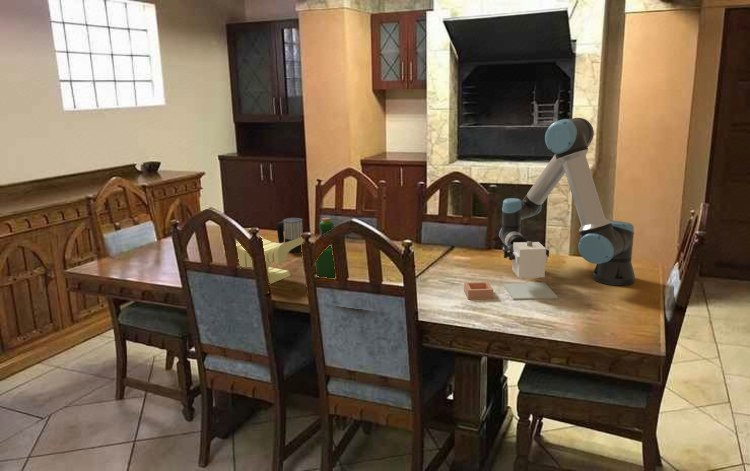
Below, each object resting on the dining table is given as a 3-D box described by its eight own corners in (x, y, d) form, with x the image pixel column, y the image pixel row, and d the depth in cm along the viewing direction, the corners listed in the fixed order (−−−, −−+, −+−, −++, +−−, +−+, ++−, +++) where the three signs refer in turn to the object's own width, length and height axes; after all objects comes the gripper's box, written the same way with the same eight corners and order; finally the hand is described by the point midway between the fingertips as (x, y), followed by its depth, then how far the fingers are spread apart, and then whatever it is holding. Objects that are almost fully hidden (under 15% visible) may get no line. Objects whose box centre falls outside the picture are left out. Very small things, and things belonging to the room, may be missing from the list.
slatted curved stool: (225, 278, 248) (221, 236, 244) (253, 267, 261) (249, 228, 256) (279, 290, 232) (276, 245, 227) (306, 278, 245) (304, 236, 240)
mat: (544, 283, 231) (544, 282, 231) (557, 298, 215) (557, 296, 215) (502, 285, 231) (502, 283, 230) (513, 299, 215) (513, 298, 215)
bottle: (348, 287, 233) (345, 216, 226) (335, 295, 224) (331, 222, 217) (324, 283, 238) (320, 214, 231) (310, 292, 228) (306, 220, 221)
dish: (487, 290, 225) (488, 281, 224) (493, 298, 217) (493, 289, 216) (463, 291, 225) (464, 282, 224) (468, 299, 216) (468, 290, 216)
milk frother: (307, 247, 291) (305, 217, 287) (295, 256, 276) (293, 225, 272) (279, 246, 294) (277, 217, 290) (266, 255, 279) (264, 224, 276)
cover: (537, 271, 227) (538, 238, 223) (544, 279, 218) (546, 245, 214) (512, 272, 227) (513, 238, 223) (518, 280, 217) (520, 245, 214)
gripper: (543, 251, 239) (562, 269, 217) (488, 253, 238) (501, 270, 217) (544, 233, 237) (563, 249, 215) (489, 234, 236) (502, 250, 215)
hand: (532, 260), depth 216 cm, fingers closed on cover, 9 cm apart
